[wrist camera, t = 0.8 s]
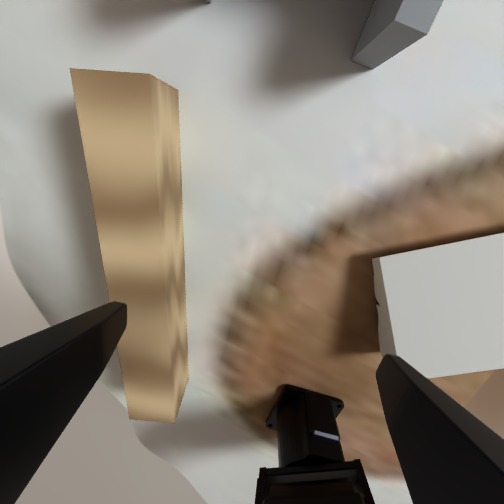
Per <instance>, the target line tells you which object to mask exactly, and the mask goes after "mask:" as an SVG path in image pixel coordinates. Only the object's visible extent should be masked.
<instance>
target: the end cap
mask: <svg viewBox="0 0 504 504" xmlns="http://www.w3.org/2000/svg"><path fill="white" fill-rule="evenodd" d="M204 1H206V2H209V3H211V0H204ZM442 2H443V0H375V2H374V4H373V7H372V9H371V12H370V14H369V16H368V19H367V21H366V24H365V26H364V29H363V31H362V34H361V36H360V39H359V41H358V44H357V46H356V49H355V51H354V54H353V56H352V59H351V61H354V62H356V63H359V64H361V65H364V66H366V67H368V68H371V69H374V68H376V67H377V66H379V65H380V64H382V63H383V62H385V61H386V60H388V59H390V58H391V57H393V56H394V55H396V54H397V53H399V52H400V51H402V50H403V49H405V48H407V47H408V46H410V45H411V44H413V43H414V42H416V41H417V40H419V39H420V38H422V37H424V36H425V35H427V33H428V31H429V29H430V27H431V25H432V23H433V21H434V19H435V17H436V15H437V13H438V11H439V9H440V7H441V4H442Z"/></svg>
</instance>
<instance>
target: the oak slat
mask: <svg viewBox="0 0 504 504" xmlns="http://www.w3.org/2000/svg"><path fill="white" fill-rule="evenodd" d="M70 73H71V79H72V85H73V90H74V96H75V102H76V108H77V114H78V120H79V126H80V131H81V137H82V143H83V149H84V155H85V161H86V167H87V173H88V178H89V184H90V190H91V196H92V202H93V208H94V214H95V219H96V225H97V231H98V237H99V243H100V249H101V255H102V261H103V266H104V272H105V278H106V284H107V290H108V296H109V302H113V301H118V302H123V303H126V304H127V326H126V329H125V331H124V333H123V335H122V337H121V339H120V341H119V343H118V344H117V348H118V354H119V360H120V366H121V372H122V378H123V384H124V390H125V395H126V401H127V407H128V413H129V419H133V420H144V421H155V422H166V423H175V420H176V417H177V414H178V411H179V408H180V405H181V402H182V398H183V395H184V392H185V389H186V386H187V383H188V380H189V373H188V345H187V317H186V290H185V262H184V235H183V207H182V179H181V152H180V124H179V96H178V90H177V89H175V88H174V87H172V86H170V85H168V84H167V83H165V82H163V81H161V80H160V79H158V78H156V77H154V76H152V75H151V74H143V73H129V72H115V71H101V70H86V69H72V68H70Z"/></svg>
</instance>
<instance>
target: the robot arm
mask: <svg viewBox="0 0 504 504" xmlns="http://www.w3.org/2000/svg"><path fill="white" fill-rule="evenodd" d="M126 326H127V304H126V303H123V302H118V301H113V302H110V303H108V304H105V305H103V306H100V307H98V308H95V309H93V310H91V311H88V312H86V313H83V314H81V315H78V316H76V317H74V318H71V319H69V320H66V321H64V322H61V323H59V324H57V325H54V326H52V327H49V328H47V329H44V330H42V331H40V332H37V333H35V334H32V335H30V336H27V337H25V338H22V339H20V340H18V341H15V342H13V343H10V344H8V345H5V346H3V347H0V504H15V502H16V501H17V499H18V498H19V496H20V495H21V493H22V492H23V490H24V489H25V487H26V486H27V484H28V483H29V481H30V480H31V478H32V477H33V475H34V474H35V472H36V471H37V469H38V468H39V466H40V465H41V463H42V462H43V460H44V459H45V457H46V456H47V454H48V453H49V451H50V450H51V448H52V447H53V445H54V444H55V442H56V441H57V439H58V438H59V437H60V435H61V434H62V432H63V431H64V429H65V427H66V426H67V425H68V423H69V422H70V420H71V419H72V417H73V416H74V414H75V413H76V411H77V410H78V408H79V407H80V405H81V404H82V402H83V401H84V399H85V398H86V396H87V395H88V393H89V392H90V390H91V389H92V387H93V386H94V384H95V383H96V381H97V380H98V378H99V377H100V375H101V374H102V372H103V371H104V369H105V367H106V365H107V363H108V361H109V360H110V358H111V356H112V354H113V352H114V350H115V348H116V346H117V344H118V343H119V341H120V339H121V337H122V335H123V333H124V331H125V329H126ZM376 380H377V384H378V389H379V393H380V397H381V402H382V406H383V410H384V415H385V419H386V422H387V426H388V429H389V432H390V435H391V438H392V441H393V444H394V447H395V450H396V453H397V456H398V459H399V462H400V465H401V468H402V471H403V475H404V478H405V481H406V484H407V487H408V490H409V493H410V496H411V499H412V502H413V504H504V439H502V438H501V437H500V436H499V435H497V434H496V433H495V432H494V431H492V430H491V429H490V428H488V427H487V426H486V425H485V424H484V423H482V422H481V421H480V420H479V419H477V418H476V417H475V416H474V415H472V414H471V413H470V412H468V411H467V410H466V409H465V408H464V407H462V406H461V405H460V404H459V403H457V402H456V401H455V400H454V399H452V398H451V397H450V396H449V395H447V394H446V393H445V392H444V391H442V390H441V389H440V388H439V387H437V386H436V385H435V384H433V383H432V382H431V381H430V380H428V379H427V378H426V377H425V376H423V375H422V374H421V373H420V372H418V371H417V370H416V369H415V368H413V367H412V366H411V365H410V364H408V363H407V362H406V361H405V360H403V359H402V358H401V357H399V356H397V355H392V354H386V355H384V357H383V359H382V361H381V363H380V365H379V367H378V369H377V371H376ZM343 408H344V404H343V401H342V400H340V399H337V398H333V397H330V396H326V395H323V394H319V393H316V392H312V391H309V390H305V389H302V388H298V387H295V386H291V385H286V386H285V387H284V389H283V390H282V392H281V394H280V396H279V398H278V400H277V401H276V403H275V405H274V407H273V409H272V411H271V412H270V414H269V416H268V418H267V420H266V427H267V428H269V429H273V430H277V435H278V459H279V467H278V468H266V467H264V468H260V472H259V478H258V479H257V488H256V497H255V504H375V502H374V499H373V496H372V494H371V491H370V488H369V485H368V482H367V479H366V476H365V473H364V470H363V467H362V464H361V461H360V459H354V460H353V461H346V462H345V459H344V455H343V451H342V447H341V443H340V435H339V431H338V427H337V423H336V417H337V416H338V415H339V413H340V412H341V410H342V409H343Z"/></svg>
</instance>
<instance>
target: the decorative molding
mask: <svg viewBox="0 0 504 504" xmlns="http://www.w3.org/2000/svg"><path fill="white" fill-rule="evenodd" d="M372 264H373V270H374V289H375V297H376V299H377V301H378V303H379V305H377V304H376V307H377V311H378V318H379V324H378V335H379V346H380V352H381V354H382V356H383V357H384V355H386V354H392V355H397V356H399V357H401V358H402V359H403V360H405V361H406V362H407V363H408V364H410V365H411V366H412V367H413V368H415V369H416V370H417V371H418V372H420V373H421V374H422V375H423V376H425V377H426V378H434V377H442V376H449V375H456V374H464V373H471V372H479V371H486V370H493V369H500V368H504V232H503V233H498V234H493V235H488V236H483V237H478V238H473V239H468V240H463V241H458V242H453V243H448V244H443V245H438V246H433V247H428V248H423V249H418V250H413V251H408V252H403V253H397V254H392V255H387V256H382V257H377V258H372Z"/></svg>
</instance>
